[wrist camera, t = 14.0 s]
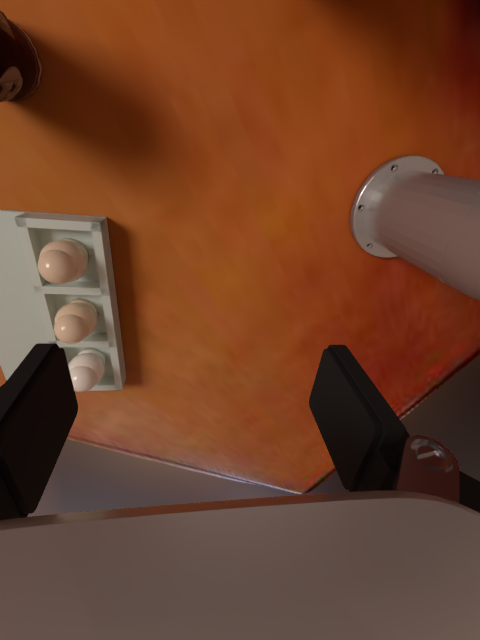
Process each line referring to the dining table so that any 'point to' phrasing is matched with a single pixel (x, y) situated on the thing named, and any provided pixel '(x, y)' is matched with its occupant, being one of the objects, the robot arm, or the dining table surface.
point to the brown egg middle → (76, 321)
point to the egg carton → (56, 290)
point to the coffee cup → (17, 62)
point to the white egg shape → (87, 369)
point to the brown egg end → (63, 261)
